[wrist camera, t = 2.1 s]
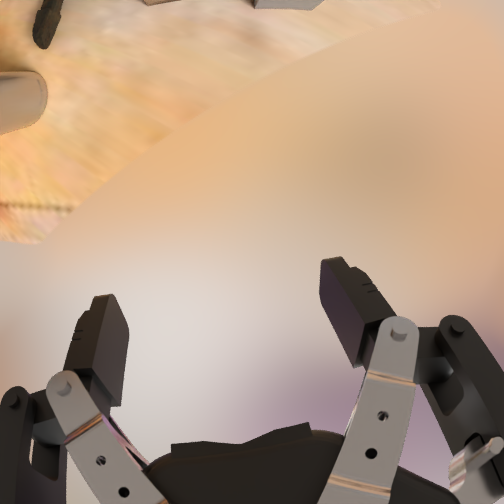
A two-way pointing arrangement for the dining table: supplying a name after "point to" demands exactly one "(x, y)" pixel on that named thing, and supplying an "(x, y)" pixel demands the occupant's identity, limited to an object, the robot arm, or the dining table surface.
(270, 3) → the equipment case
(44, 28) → the hand tool
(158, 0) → the brown tall rectangular frame
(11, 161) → the dining table surface
